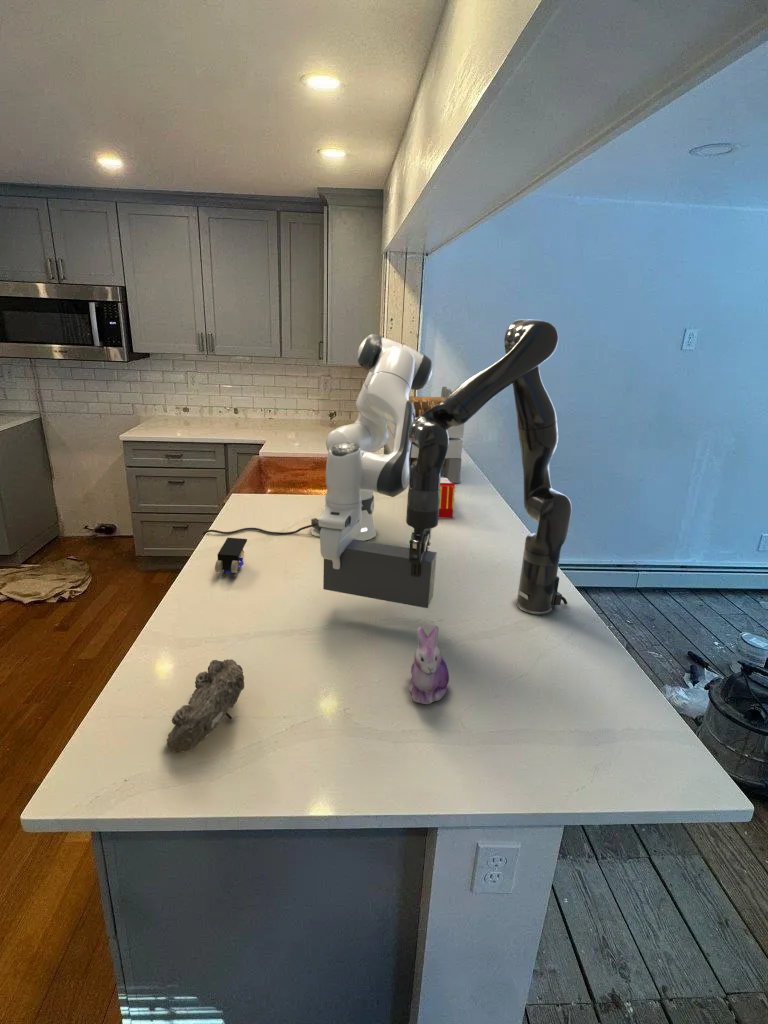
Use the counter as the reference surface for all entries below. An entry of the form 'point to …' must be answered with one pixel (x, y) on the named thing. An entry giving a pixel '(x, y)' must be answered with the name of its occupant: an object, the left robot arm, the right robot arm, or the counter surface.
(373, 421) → the left robot arm
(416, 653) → the figurine
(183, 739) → the fossil
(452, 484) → the toy
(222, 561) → the black toy vehicle
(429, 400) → the transformer
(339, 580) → the box
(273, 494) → the counter surface
